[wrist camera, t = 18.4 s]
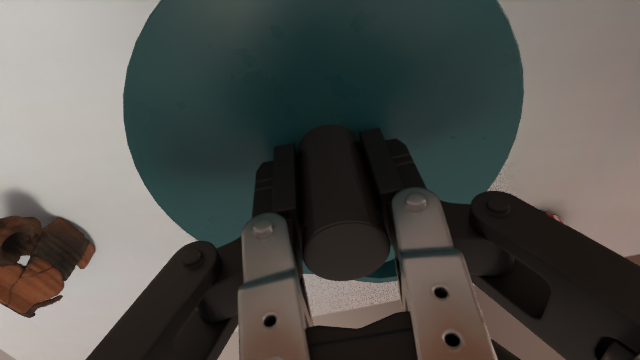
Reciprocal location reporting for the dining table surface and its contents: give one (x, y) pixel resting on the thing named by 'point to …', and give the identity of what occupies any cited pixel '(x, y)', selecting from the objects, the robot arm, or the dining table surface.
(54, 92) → the dining table surface
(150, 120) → the cover
